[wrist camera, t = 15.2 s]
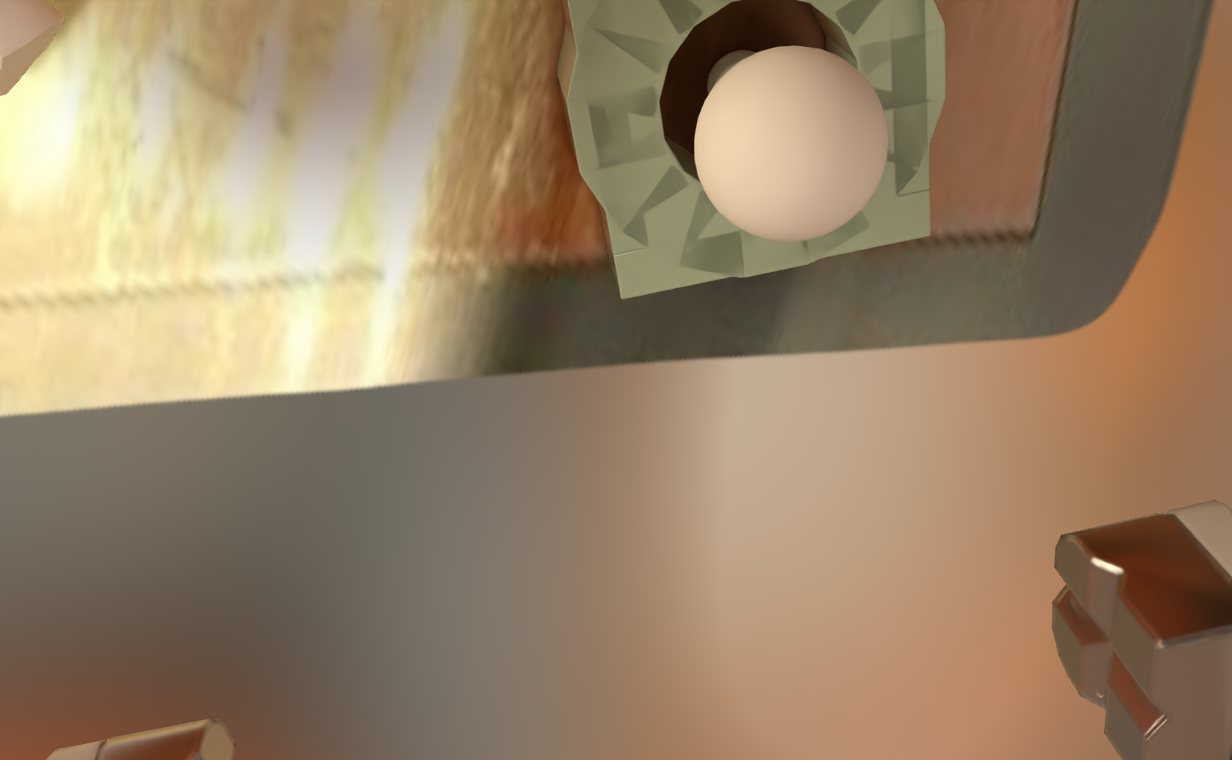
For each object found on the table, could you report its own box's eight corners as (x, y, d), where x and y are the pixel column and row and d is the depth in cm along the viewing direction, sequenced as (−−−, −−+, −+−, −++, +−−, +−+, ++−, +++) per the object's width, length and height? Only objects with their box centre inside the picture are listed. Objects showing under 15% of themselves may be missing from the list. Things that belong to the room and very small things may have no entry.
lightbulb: (844, 80, 43) (955, 180, 34) (723, 186, 45) (797, 309, 36) (748, -43, 41) (839, 30, 31) (622, 75, 42) (673, 177, 33)
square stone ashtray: (527, -81, 39) (535, -62, 36) (901, -155, 39) (944, -142, 36) (593, 263, 46) (605, 307, 43) (911, 198, 46) (948, 236, 43)
